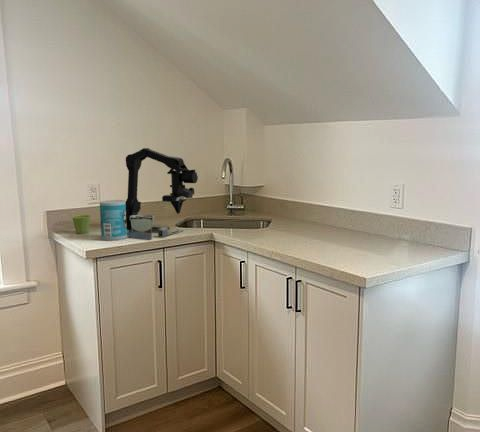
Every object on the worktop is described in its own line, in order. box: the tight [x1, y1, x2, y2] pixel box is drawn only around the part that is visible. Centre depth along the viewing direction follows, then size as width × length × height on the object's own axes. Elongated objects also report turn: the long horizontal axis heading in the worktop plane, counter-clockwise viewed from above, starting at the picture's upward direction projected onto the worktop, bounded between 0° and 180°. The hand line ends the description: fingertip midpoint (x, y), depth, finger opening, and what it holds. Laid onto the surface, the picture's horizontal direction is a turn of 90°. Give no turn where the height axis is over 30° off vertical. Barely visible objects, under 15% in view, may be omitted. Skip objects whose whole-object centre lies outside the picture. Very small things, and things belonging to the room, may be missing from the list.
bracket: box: [127, 225, 167, 241], centre depth 241 cm, size 15×16×3 cm
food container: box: [129, 214, 155, 236], centre depth 242 cm, size 12×6×10 cm, turn 84°
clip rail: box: [157, 227, 184, 239], centre depth 243 cm, size 3×18×4 cm, turn 152°
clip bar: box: [167, 226, 173, 235], centre depth 240 cm, size 2×6×4 cm, turn 152°
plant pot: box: [71, 214, 91, 235], centre depth 248 cm, size 9×9×9 cm
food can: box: [99, 199, 128, 242], centre depth 234 cm, size 12×12×18 cm
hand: (178, 213), depth 247 cm, fingers closed
